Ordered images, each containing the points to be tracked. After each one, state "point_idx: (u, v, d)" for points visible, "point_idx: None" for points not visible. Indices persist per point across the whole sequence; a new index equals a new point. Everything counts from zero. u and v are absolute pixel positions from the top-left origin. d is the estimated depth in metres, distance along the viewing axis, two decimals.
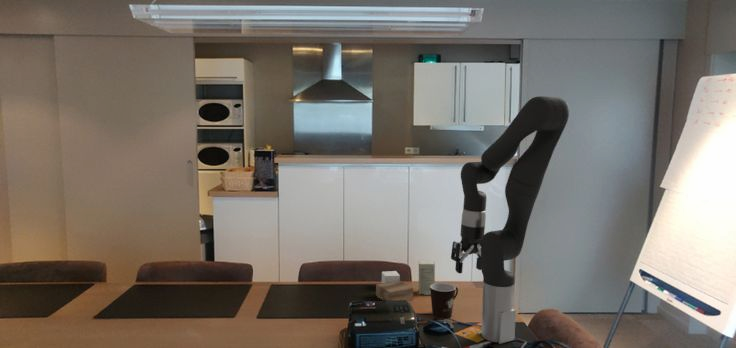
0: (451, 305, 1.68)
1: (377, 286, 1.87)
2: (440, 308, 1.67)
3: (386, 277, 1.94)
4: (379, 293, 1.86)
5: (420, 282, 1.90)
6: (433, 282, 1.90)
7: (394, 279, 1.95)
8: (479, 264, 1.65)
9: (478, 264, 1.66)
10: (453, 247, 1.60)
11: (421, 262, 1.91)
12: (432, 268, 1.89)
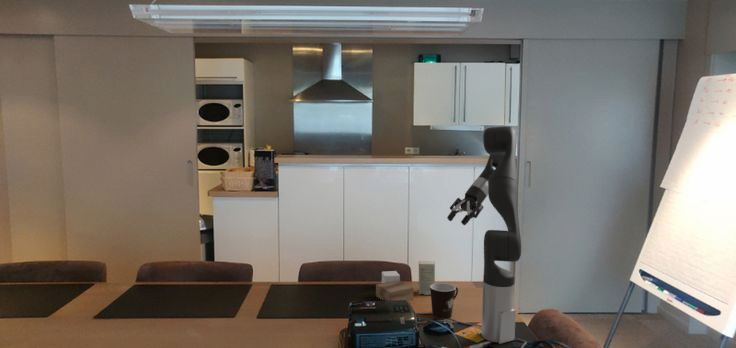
0: (451, 305, 1.68)
1: (377, 286, 1.87)
2: (440, 308, 1.67)
3: (386, 277, 1.94)
4: (379, 293, 1.86)
5: (420, 282, 1.90)
6: (433, 282, 1.90)
7: (394, 279, 1.95)
8: None
9: None
10: None
11: (421, 262, 1.91)
12: (432, 268, 1.89)
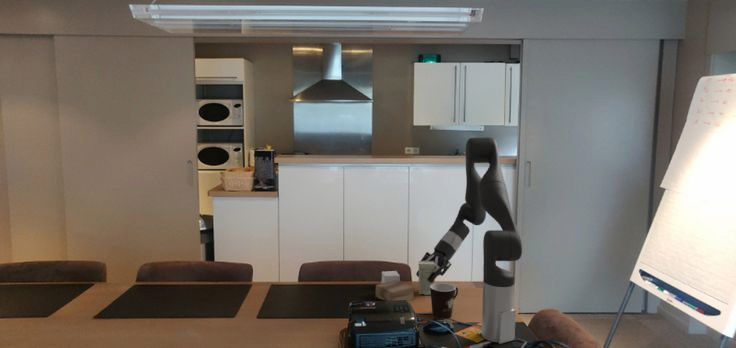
0: (451, 305, 1.68)
1: (377, 287, 1.86)
2: (440, 308, 1.67)
3: (386, 277, 1.94)
4: (379, 294, 1.86)
5: (420, 282, 1.90)
6: (433, 282, 1.90)
7: (394, 279, 1.95)
8: None
9: None
10: None
11: (421, 262, 1.91)
12: (432, 268, 1.89)
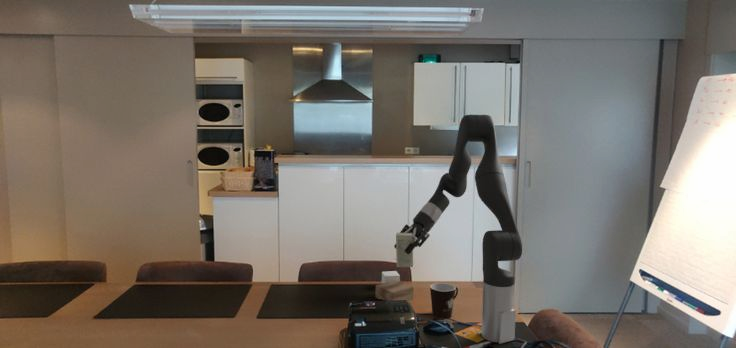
0: (451, 305, 1.68)
1: (377, 287, 1.86)
2: (440, 308, 1.67)
3: (386, 277, 1.94)
4: (379, 294, 1.85)
5: (398, 254, 1.85)
6: (411, 254, 1.84)
7: (394, 279, 1.95)
8: None
9: None
10: None
11: (399, 233, 1.86)
12: (410, 239, 1.84)
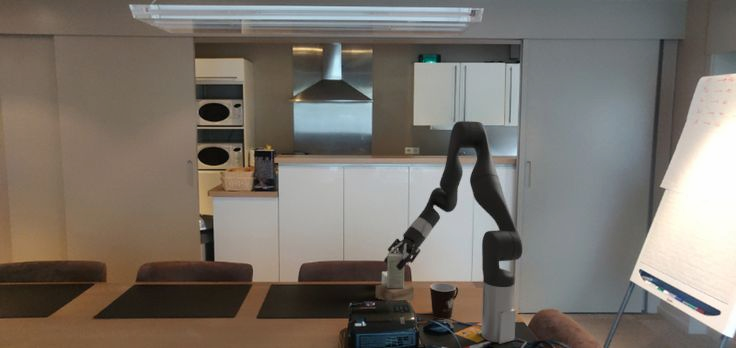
0: (451, 305, 1.68)
1: (377, 287, 1.86)
2: (440, 308, 1.67)
3: (386, 277, 1.94)
4: (379, 294, 1.85)
5: (389, 275, 1.83)
6: (402, 275, 1.83)
7: None
8: None
9: None
10: None
11: (390, 254, 1.85)
12: None
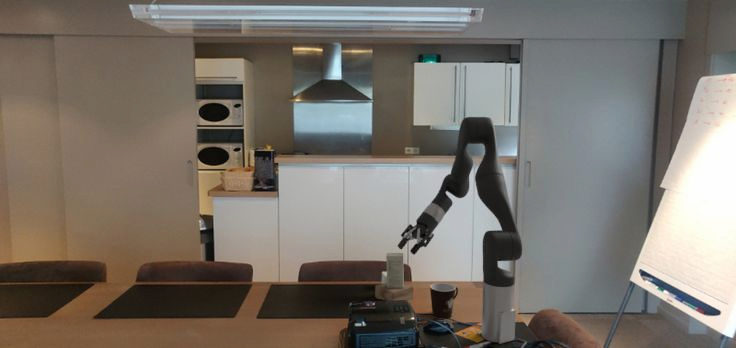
0: (451, 305, 1.68)
1: (377, 287, 1.86)
2: (440, 308, 1.67)
3: (386, 277, 1.94)
4: (379, 294, 1.85)
5: (388, 275, 1.84)
6: (402, 275, 1.83)
7: None
8: None
9: None
10: None
11: (389, 254, 1.85)
12: (400, 260, 1.83)
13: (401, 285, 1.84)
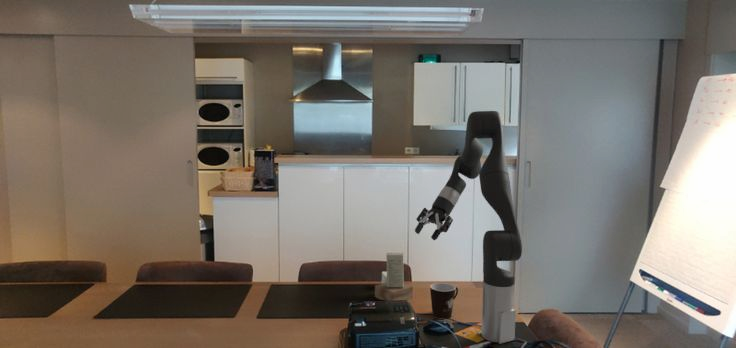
0: (451, 305, 1.68)
1: (376, 287, 1.86)
2: (440, 308, 1.67)
3: (386, 277, 1.94)
4: (378, 294, 1.85)
5: (388, 274, 1.84)
6: (402, 274, 1.83)
7: None
8: None
9: None
10: None
11: (389, 253, 1.85)
12: (400, 259, 1.83)
13: (401, 285, 1.84)
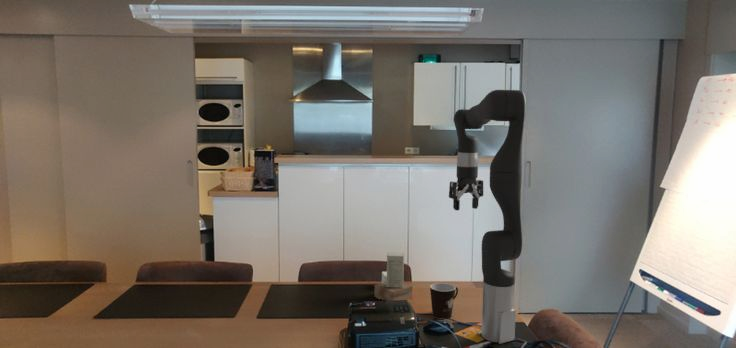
0: (451, 305, 1.68)
1: (376, 287, 1.87)
2: (440, 308, 1.67)
3: (386, 277, 1.94)
4: (378, 294, 1.86)
5: (388, 274, 1.84)
6: (402, 275, 1.83)
7: None
8: (474, 203, 1.84)
9: (474, 203, 1.84)
10: (450, 186, 1.79)
11: (390, 254, 1.85)
12: (401, 260, 1.83)
13: (401, 285, 1.84)
